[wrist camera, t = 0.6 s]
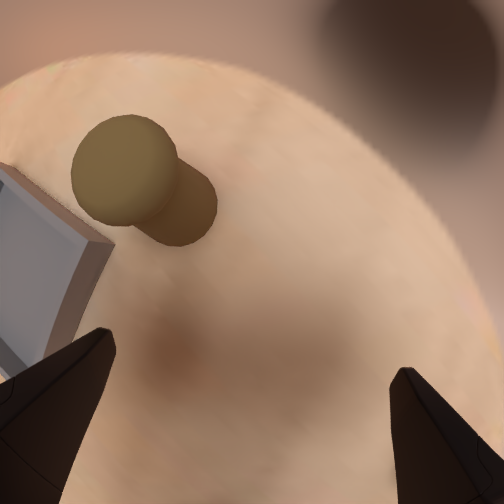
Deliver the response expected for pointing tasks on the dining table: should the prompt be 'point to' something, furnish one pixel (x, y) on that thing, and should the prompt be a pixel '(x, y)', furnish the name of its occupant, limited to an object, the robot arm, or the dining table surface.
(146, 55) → the dining table surface
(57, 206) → the grey bin
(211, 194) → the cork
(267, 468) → the dining table surface
